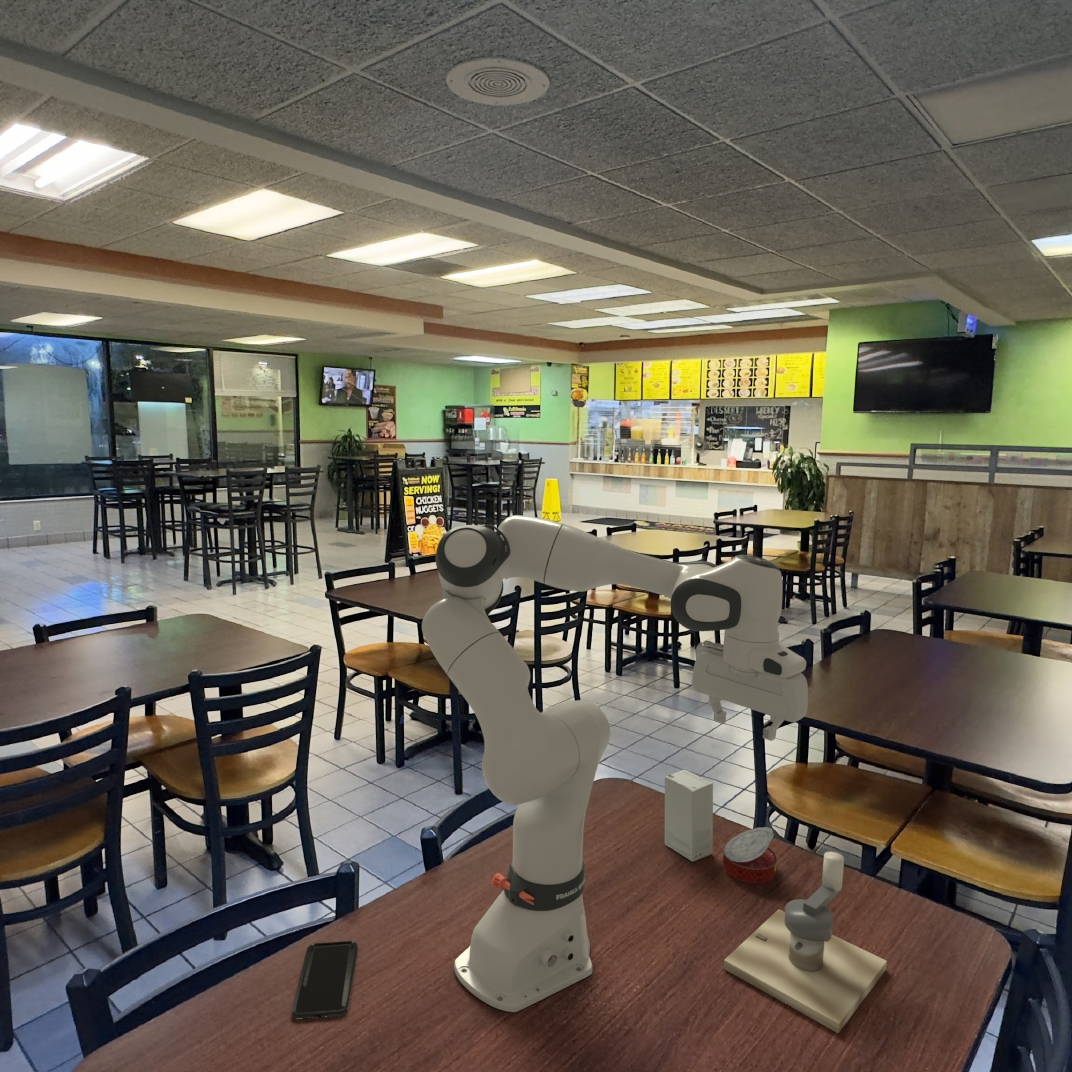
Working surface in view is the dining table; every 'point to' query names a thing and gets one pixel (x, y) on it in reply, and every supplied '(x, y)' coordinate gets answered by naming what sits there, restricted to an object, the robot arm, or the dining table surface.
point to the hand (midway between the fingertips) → (743, 730)
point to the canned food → (751, 856)
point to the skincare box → (689, 815)
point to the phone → (325, 980)
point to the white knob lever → (817, 904)
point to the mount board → (807, 971)
